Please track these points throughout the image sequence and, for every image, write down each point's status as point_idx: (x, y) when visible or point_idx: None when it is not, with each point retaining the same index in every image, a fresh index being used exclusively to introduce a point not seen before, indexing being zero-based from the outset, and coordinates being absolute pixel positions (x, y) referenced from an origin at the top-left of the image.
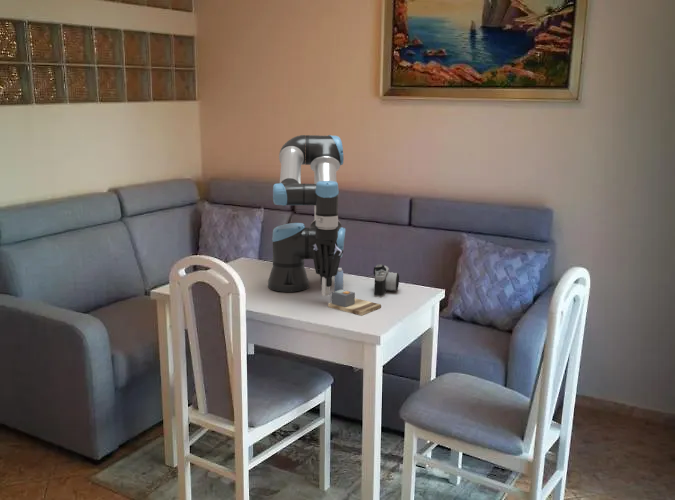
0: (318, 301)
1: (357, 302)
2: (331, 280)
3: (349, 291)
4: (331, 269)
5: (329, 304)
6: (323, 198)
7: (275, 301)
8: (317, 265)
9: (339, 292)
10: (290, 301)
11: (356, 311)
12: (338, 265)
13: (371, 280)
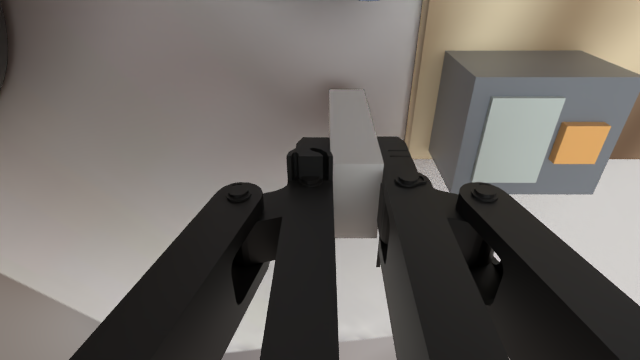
0: (281, 100)
1: (591, 1)
2: (414, 169)
3: (583, 82)
4: (498, 325)
5: (417, 156)
6: None
7: (120, 243)
8: (232, 329)
9: (519, 175)
10: (167, 201)
11: (634, 156)
12: (622, 303)
13: None
